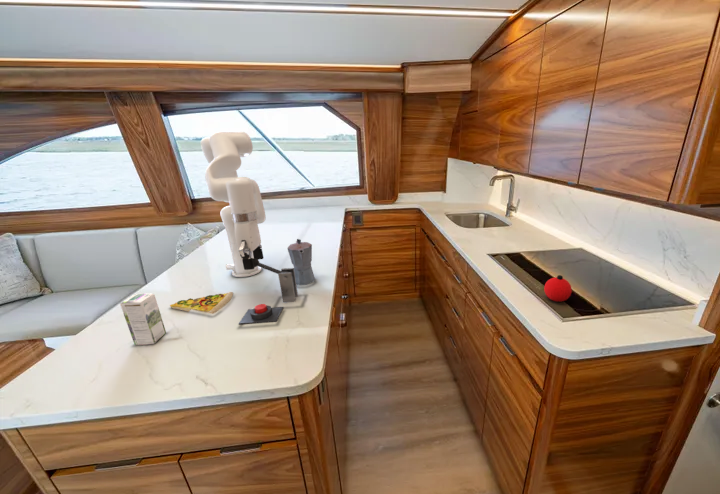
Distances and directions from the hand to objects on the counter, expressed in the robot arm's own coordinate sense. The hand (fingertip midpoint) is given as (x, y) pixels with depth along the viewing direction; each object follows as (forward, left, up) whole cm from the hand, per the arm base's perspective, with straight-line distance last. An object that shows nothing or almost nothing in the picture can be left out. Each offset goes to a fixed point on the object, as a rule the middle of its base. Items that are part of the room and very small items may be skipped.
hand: (254, 264), depth 106 cm
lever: (+4, 0, -4) cm, 6 cm away
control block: (+3, -11, -16) cm, 20 cm away
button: (+3, -11, -13) cm, 17 cm away
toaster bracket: (+10, 0, -16) cm, 19 cm away
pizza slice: (-23, +1, -16) cm, 28 cm away
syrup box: (-28, -18, -16) cm, 37 cm away
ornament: (+109, -13, -16) cm, 111 cm away
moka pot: (+12, +16, -16) cm, 26 cm away
